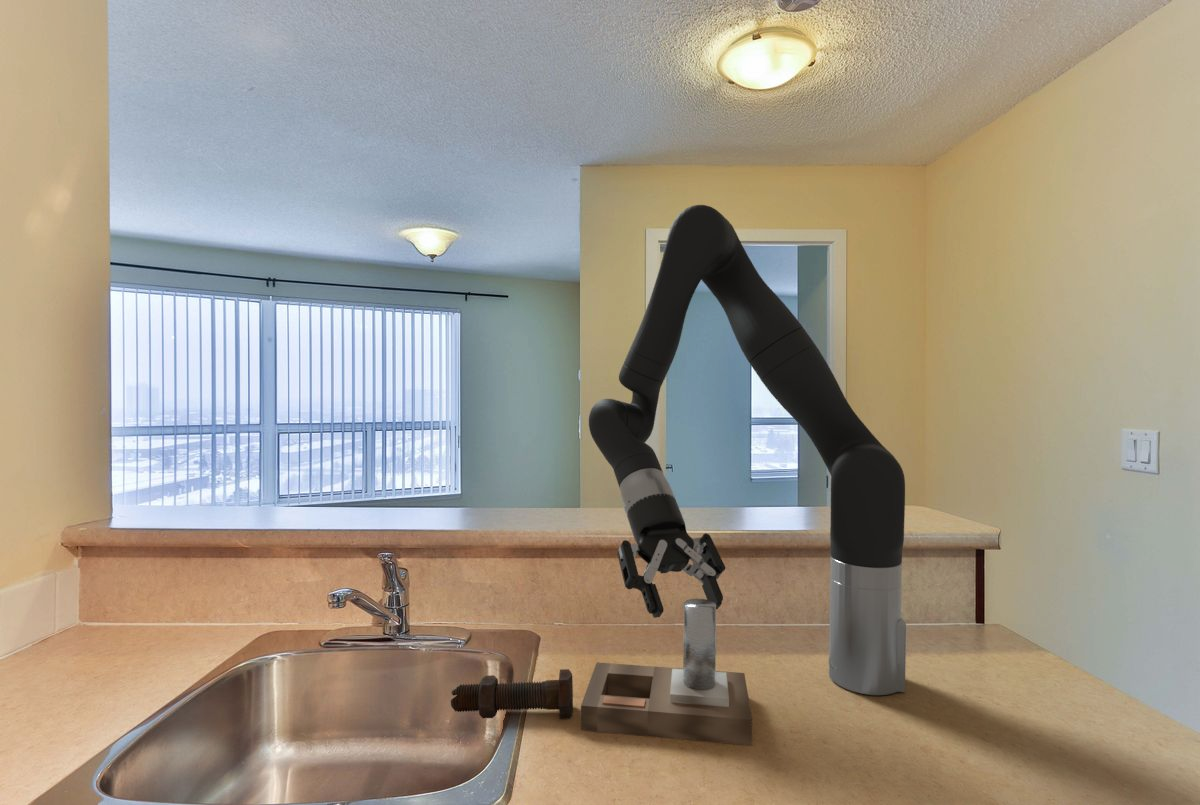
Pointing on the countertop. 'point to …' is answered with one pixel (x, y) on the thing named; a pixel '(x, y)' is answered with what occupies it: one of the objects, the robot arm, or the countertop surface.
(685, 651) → the peg
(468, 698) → the bolt
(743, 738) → the recessed board
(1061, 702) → the countertop surface
